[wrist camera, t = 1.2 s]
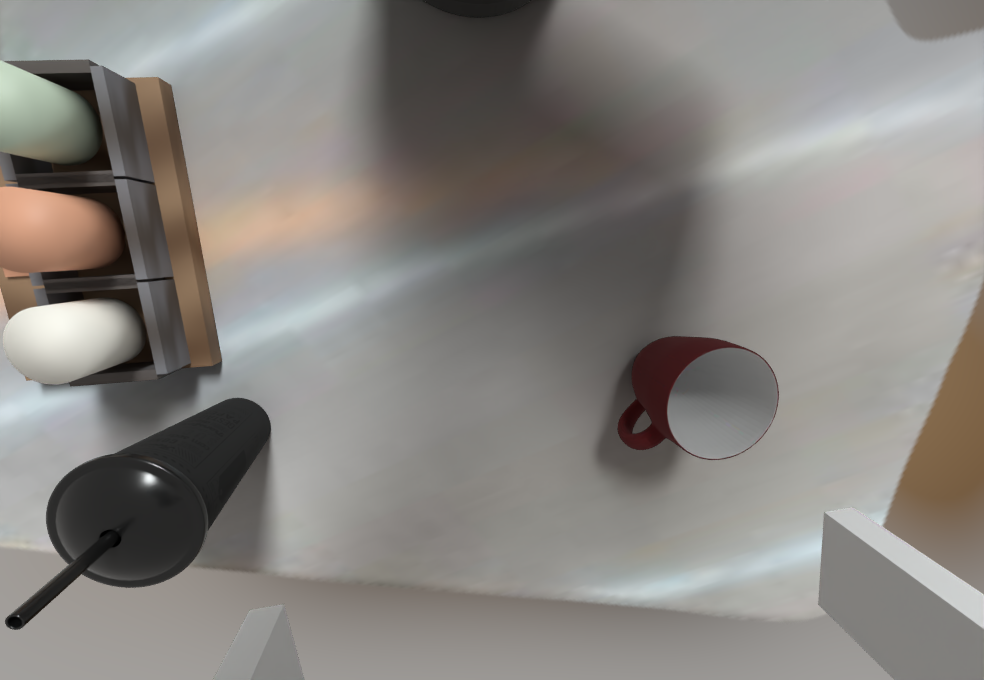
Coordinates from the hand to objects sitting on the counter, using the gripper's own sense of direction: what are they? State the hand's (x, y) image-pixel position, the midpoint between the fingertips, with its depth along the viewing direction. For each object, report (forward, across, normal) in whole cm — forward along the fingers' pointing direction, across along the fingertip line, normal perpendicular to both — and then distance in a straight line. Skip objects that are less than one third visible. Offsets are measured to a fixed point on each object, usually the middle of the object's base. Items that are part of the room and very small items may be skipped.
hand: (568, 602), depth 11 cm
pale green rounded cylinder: (+24, -25, +18) cm, 39 cm away
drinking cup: (+28, -21, -4) cm, 35 cm away
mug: (+28, +14, -5) cm, 32 cm away
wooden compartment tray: (+28, -26, +12) cm, 40 cm away
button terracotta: (+24, -25, +12) cm, 36 cm away
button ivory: (+24, -25, +5) cm, 35 cm away
